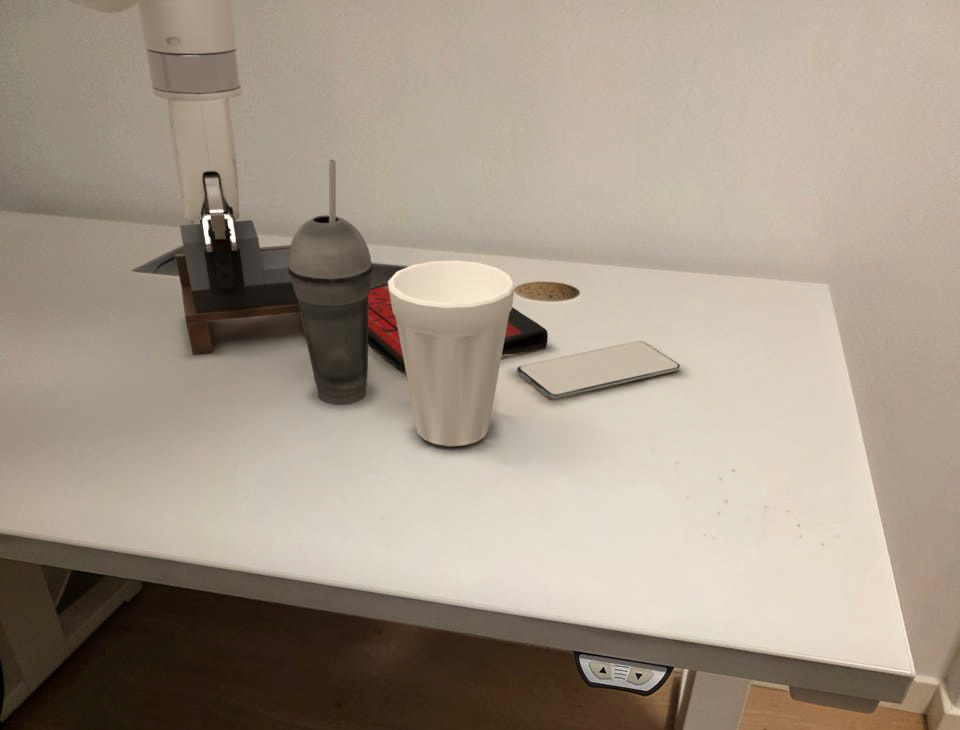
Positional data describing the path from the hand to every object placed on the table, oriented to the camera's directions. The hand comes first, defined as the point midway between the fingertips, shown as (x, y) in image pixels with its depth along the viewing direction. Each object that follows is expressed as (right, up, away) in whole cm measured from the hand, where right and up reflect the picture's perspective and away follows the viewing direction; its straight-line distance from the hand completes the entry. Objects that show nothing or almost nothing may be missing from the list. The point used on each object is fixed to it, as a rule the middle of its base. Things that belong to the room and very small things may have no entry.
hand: (225, 276), depth 89 cm
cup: (+23, -18, -10) cm, 31 cm away
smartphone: (+37, -10, -1) cm, 38 cm away
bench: (+2, -3, +6) cm, 7 cm away
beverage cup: (+12, -13, -5) cm, 19 cm away
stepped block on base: (+2, -1, +3) cm, 4 cm away
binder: (+20, -3, +7) cm, 22 cm away
